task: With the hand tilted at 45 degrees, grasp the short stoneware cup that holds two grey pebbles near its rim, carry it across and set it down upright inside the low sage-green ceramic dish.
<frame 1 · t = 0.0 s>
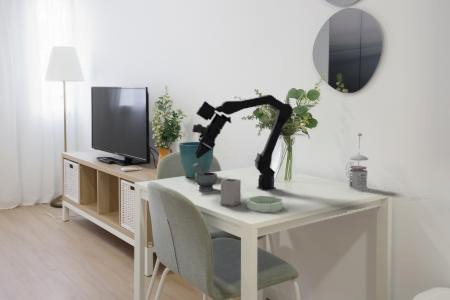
hand: (196, 156, 200), 15 cm above the table, tool tilted 35°, fingers open, 9 cm apart
flower pot: (196, 176, 234), on the table
dish: (264, 207, 171), on the table
tumbler: (230, 204, 176), on the table, touching pebble 1
french press: (356, 188, 205), on the table
pebble 1: (231, 198, 176), point 2 cm above the table, tilted 21°, touching pebble 2, tumbler
pebble 2: (230, 192, 174), point 5 cm above the table, tilted 56°, touching pebble 1
mortar and pestle: (204, 189, 203), on the table
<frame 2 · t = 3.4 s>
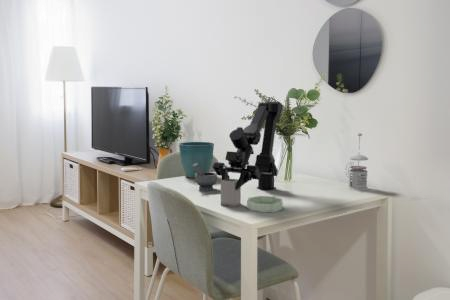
hand: (229, 188, 173), 7 cm above the table, tool tilted 45°, fingers closed on tumbler, 6 cm apart
tumbler: (230, 204, 176), on the table, touching gripper, pebble 1, pebble 2
pebble 1: (231, 198, 176), point 2 cm above the table, tilted 27°, touching pebble 2, tumbler
pebble 2: (230, 192, 174), point 5 cm above the table, tilted 69°, touching pebble 1, tumbler
everything else where it was.
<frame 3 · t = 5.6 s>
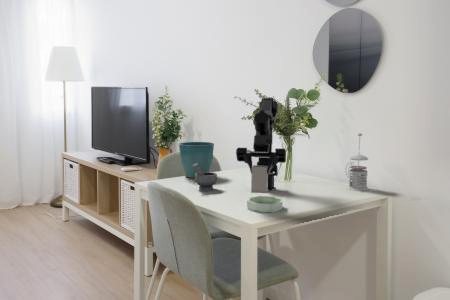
hand: (259, 173, 168), 13 cm above the table, tool tilted 45°, fingers closed on tumbler, 6 cm apart
tumbler: (259, 191, 170), point 6 cm above the table, touching gripper, pebble 1, pebble 2
pebble 1: (260, 185, 171), point 8 cm above the table, tilted 29°, touching pebble 2, tumbler
pebble 2: (260, 178, 169), point 11 cm above the table, tilted 66°, touching pebble 1, tumbler
everything else where it was.
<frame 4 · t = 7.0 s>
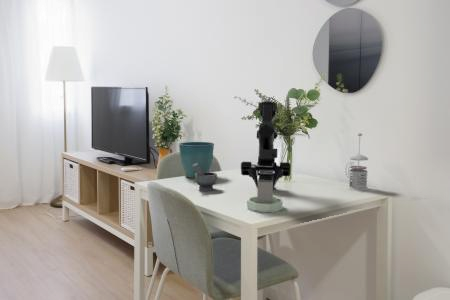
hand: (265, 187, 169), 8 cm above the table, tool tilted 45°, fingers closed on tumbler, 5 cm apart
tumbler: (265, 206, 171), point 1 cm above the table, touching dish, gripper, pebble 1, pebble 2
pebble 1: (265, 199, 171), point 3 cm above the table, tilted 29°, touching pebble 2, tumbler
pebble 2: (266, 193, 169), point 6 cm above the table, tilted 67°, touching pebble 1, tumbler
everything else where it was.
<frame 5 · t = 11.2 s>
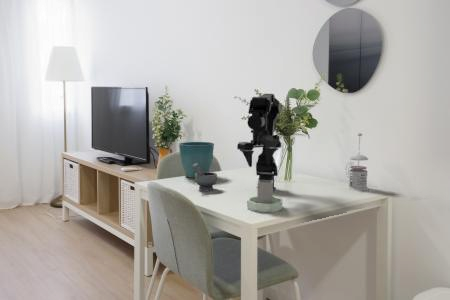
hand: (259, 165, 187), 13 cm above the table, tool pointing down, fingers open, 9 cm apart
tumbler: (265, 206, 171), point 1 cm above the table, touching dish, pebble 1, pebble 2
everything else where it was.
at the end: tumbler inside the target area on the dish (0.2 cm from its centre), point 0.6 cm above the dish's base; tumbler tilted 0°; the gripper is holding nothing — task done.
